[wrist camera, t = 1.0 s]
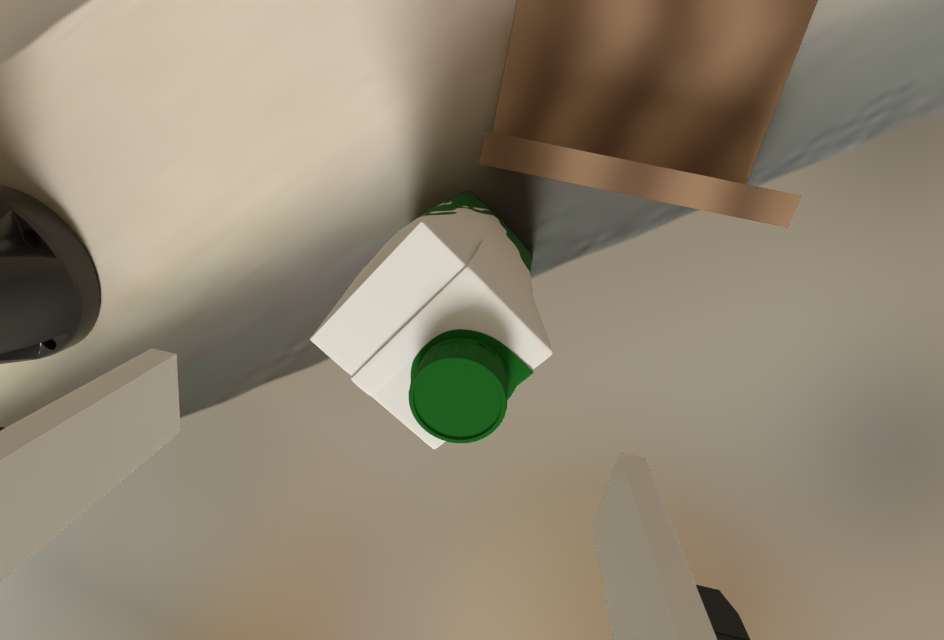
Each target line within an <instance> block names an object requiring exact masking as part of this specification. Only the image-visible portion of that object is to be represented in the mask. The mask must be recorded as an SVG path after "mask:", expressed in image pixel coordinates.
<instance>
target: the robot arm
mask: <svg viewBox="0 0 944 640" xmlns="http://www.w3.org/2000/svg"><path fill="white" fill-rule="evenodd" d="M99 306H100V292H99V285H98V280H97V276H96V273H95V270H94V267H93V265H92V262H91V260H90V258H89V256H88V254H87V252H86V250H85V249H84V247H83V245H82V244H81V242H80V241H79V239H78V238H77V237H76V235H75V234H74V233H73V232H72V230H71V229H70V228H69V227H68V226H67V225H66V224H65V223H64V222H63V221H62V220H61V219H60V218H59V217H58V216H57V215H56V214H55V213H54V212H52V211H51V210H50V209H49V208H47V207H46V206H45V205H43V204H42V203H40V202H39V201H37V200H35V199H34V198H32V197H30V196H28V195H26V194H24V193H22V192H19V191H17V190H14V189H11V188H8V187H4V186H0V364H4V363H12V362H20V361H28V360H35V359H40V358H44V357H47V356H51V355H53V354H55V353H58V352H60V351H62V350H64V349H67V348H69V347H71V346H73V345H75V344H77V343H79V342H80V341H81V340H83V339H84V338H85V337H86V336H87V335H88V334H89V332H90V331H91V330H92V328H93V326H94V324H95V322H96V319H97V316H98V312H99ZM178 433H180V413H179V393H178V373H177V354H174V353H170V352H165V351H161V350H156V349H152V348H151V349H150V350H148V351H146V352H144V353H142V354H140V355H139V356H137V357H135V358H133V359H131V360H129V361H128V362H126V363H124V364H122V365H120V366H118V367H116V368H115V369H113V370H111V371H109V372H107V373H105V374H104V375H102V376H100V377H98V378H96V379H94V380H93V381H91V382H89V383H87V384H85V385H83V386H82V387H80V388H78V389H76V390H74V391H72V392H71V393H69V394H67V395H65V396H63V397H61V398H60V399H58V400H56V401H54V402H52V403H50V404H49V405H47V406H45V407H43V408H41V409H39V410H38V411H36V412H34V413H32V414H30V415H28V416H27V417H25V418H23V419H21V420H19V421H17V422H16V423H14V424H12V425H10V426H8V427H6V428H3V427H0V582H1V581H2V580H4V579H5V578H6V577H7V576H8V575H9V574H11V573H12V572H13V571H14V570H16V569H17V568H18V567H19V566H20V565H22V564H23V563H24V562H25V561H26V560H28V559H29V558H30V557H31V556H32V555H33V554H35V553H36V552H37V551H38V550H40V549H41V548H42V547H43V546H44V545H45V544H47V543H48V542H49V541H50V540H51V539H53V538H54V537H55V536H56V535H58V534H59V533H60V532H61V531H62V530H63V529H65V528H66V527H67V526H68V525H70V524H71V523H72V522H73V521H74V520H75V519H77V518H78V517H79V516H80V515H81V514H83V513H84V512H85V511H86V510H87V509H89V508H90V507H91V506H92V505H93V504H95V503H96V502H97V501H98V500H99V499H100V498H102V497H103V496H104V495H105V494H107V493H108V492H109V491H110V490H111V489H112V488H114V487H115V486H116V485H117V484H118V483H120V482H121V481H122V480H123V479H125V478H126V477H127V476H128V475H129V474H131V473H132V472H133V471H134V470H135V469H137V468H138V467H139V466H140V465H141V464H142V463H144V462H145V461H146V460H147V459H149V458H150V457H151V456H152V455H153V454H155V453H156V452H157V451H158V450H159V449H160V448H162V447H163V446H164V445H165V444H166V443H168V442H169V441H170V440H171V439H172V438H174V437H175V436H176V435H177V434H178ZM592 528H593V533H594V539H595V544H596V549H597V555H598V560H599V566H600V571H601V577H602V583H603V588H604V594H605V599H606V605H607V610H608V616H609V621H610V627H611V632H612V637H613V640H750V638H749V636H748V634H747V632H746V629H745V627H744V625H743V623H742V621H741V619H740V617H739V615H738V613H737V612H736V611H735V609H734V608H733V607H732V606H731V604H730V603H729V602H728V601H727V599H726V598H725V597H724V596H723V594H722V593H721V592H720V591H719V590H716V589H712V588H708V587H703V586H699V585H695V582H694V580H693V577H692V574H691V572H690V569H689V567H688V564H687V562H686V559H685V556H684V554H683V551H682V549H681V546H680V544H679V541H678V539H677V536H676V534H675V531H674V529H673V526H672V524H671V521H670V519H669V516H668V514H667V511H666V508H665V506H664V503H663V501H662V498H661V496H660V493H659V490H658V488H657V486H656V483H655V480H654V478H653V475H652V473H651V470H650V468H649V465H648V463H647V460H646V458H642V457H638V456H633V455H629V454H624V453H619V454H618V457H617V460H616V462H615V465H614V468H613V470H612V473H611V476H610V479H609V481H608V484H607V487H606V489H605V492H604V495H603V497H602V500H601V503H600V505H599V508H598V511H597V513H596V516H595V519H594V521H593V524H592Z"/></svg>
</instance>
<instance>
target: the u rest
mask: <svg viewBox="0 0 944 640" xmlns="http://www.w3.org/2000/svg"><path fill="white" fill-rule="evenodd" d="M817 1H818V0H517V5H516V11H515V16H514V21H513V26H512V32H511V37H510V42H509V47H508V52H507V58H506V63H505V68H504V73H503V79H502V84H501V89H500V94H499V99H498V105H497V110H496V115H495V120H494V126H493V131H492V132H488V131H485V133H484V139H483V144H482V149H481V155H480V160H479V164H482V165H487V166H491V167H496V168H501V169H506V170H511V171H516V172H520V173H525V174H530V175H535V176H540V177H545V178H550V179H554V180H559V181H564V182H569V183H574V184H579V185H583V186H588V187H593V188H598V189H603V190H608V191H613V192H617V193H622V194H627V195H632V196H637V197H642V198H646V199H651V200H656V201H661V202H666V203H671V204H676V205H680V206H685V207H690V208H695V209H700V210H705V211H709V212H714V213H719V214H724V215H729V216H734V217H739V218H744V219H748V220H753V221H758V222H763V223H768V224H772V225H778V226H782V227H788V226H789V223H790V221H791V219H792V217H793V214H794V212H795V210H796V208H797V205H798V203H799V201H800V199H801V196H800V195H796V194H791V193H785V192H781V191H776V190H771V189H766V188H762V187H757V186H752V185H747V184H746V181H747V179H748V176H749V174H750V171H751V169H752V166H753V164H754V161H755V159H756V156H757V154H758V151H759V148H760V146H761V143H762V141H763V138H764V136H765V133H766V131H767V128H768V126H769V123H770V121H771V118H772V115H773V113H774V110H775V108H776V105H777V103H778V100H779V98H780V95H781V93H782V90H783V87H784V85H785V82H786V80H787V77H788V75H789V72H790V70H791V67H792V65H793V62H794V60H795V57H796V54H797V52H798V49H799V47H800V44H801V42H802V39H803V37H804V34H805V32H806V29H807V27H808V24H809V21H810V19H811V16H812V14H813V11H814V9H815V6H816V4H817Z"/></svg>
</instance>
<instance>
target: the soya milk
mask: <svg viewBox="0 0 944 640" xmlns="http://www.w3.org/2000/svg"><path fill="white" fill-rule="evenodd" d="M532 258H533V257H532V256H531V254H530V253H529V251H528V250H527V249H526V247H525V246H524V245H523V244H522V243H521V241H520V240H519V239H518V238H517V237H516V236H515V235H514V233H513V232H512V231H511V230H510V229H509V228H508V227H507V226H506V225H505V224H504V223H503V222H502V221H501V219H500V218H499V217H498V216H497V215H496V214H495V213H493V212H492V211H491V210H490V209H489V208H488V207H487V206H486V205H484V204H483V203H482V202H481V201H480V200H478V199H477V198H476V197H475V196H474V195H473V194H472V193H471V192H470V191H467V192H465V193H463V194H461V195H459V196H457V197H455V198H452V199H450V200H448V201H446V202H444V203H442V204H440V205H438V206H435V207H433V208H431V209H430V210H428V211H427V212H425V213H424V214H422V215H421V216H420V217H418V218H417V219H415V220H414V221H413V222H411V223H410V224H408V225H407V226H405V227H404V228H403V229H401V230H400V231H399V232H398V233H396V234H395V235H394V236H393V237H392V238H391V239H390V240H389V241H388V242H387V243H386V244H385V245H384V246H383V247H382V248H381V250H380V251H379V252H378V253H377V254H376V255H375V257H374V258H373V259H372V260H371V261H370V262H369V263H368V264H367V265H366V267H365V268H364V269H363V270H362V271H361V272H360V273H359V275H358V276H357V277H356V279H355V280H354V281H353V283H352V284H351V285H350V287H349V288H348V289H347V291H346V292H345V293H344V295H343V296H342V297H341V299H340V300H339V301H338V303H337V304H336V305H335V307H334V308H333V309H332V311H331V312H330V313H329V315H328V316H327V317H326V319H325V320H324V321H323V323H322V324H321V325H320V327H319V328H318V329H317V331H316V332H315V333H314V334H313V336H312V337H311V338H310V340H311V341H312V342H313V343H314V344H315V345H317V346H318V347H319V348H320V349H321V350H322V351H323V352H324V353H326V354H327V355H328V356H329V357H330V358H331V359H333V360H334V361H335V362H336V363H337V364H338V365H339V366H340V367H342V368H343V369H344V370H345V371H346V372H347V373H349V374H350V375H351V376H352V377H351V380H352V381H353V382H354V383H355V384H356V385H357V386H358V387H359V388H361V389H362V390H363V391H364V392H366V393H367V394H368V395H371V396H372V397H373V398H374V399H375V400H376V401H378V402H379V403H380V404H381V405H382V406H383V407H385V408H386V409H387V410H388V411H389V412H390V413H392V414H393V415H394V416H395V417H396V418H397V419H399V420H400V421H401V422H402V423H403V424H405V425H406V426H407V427H408V428H409V429H410V430H411V431H413V432H414V433H415V434H416V435H417V436H419V437H420V438H421V439H422V440H423V441H424V442H426V443H427V444H428V445H429V446H430V447H432V448H433V449H436V448H438V447H439V446H440V445H441V444H443V443H444V442H445V441H447V442H452V443H469V442H474V441H478V440H480V439H483V438H484V437H487V436H488V435H489V434H491V433H492V432H493V431H494V430H495V429H496V428H497V427H498V426H499V425H500V423H501V422H502V420H503V418H504V416H505V412H506V409H507V400H508V398H509V397H510V396H511V395H512V393H513V391H514V390H515V388H516V386H517V385H519V384H520V383H521V382H522V381H523V380H525V379H526V378H527V377H529V376H530V375H531V374H532V373H533V371H532V370H533V369H534V368H535V367H537V366H538V365H539V364H541V363H542V362H543V361H545V360H546V359H547V358H548V357H549V356H551V355H552V354H553V350H552V348H551V345H550V342H549V339H548V337H547V334H546V331H545V329H544V326H543V323H542V320H541V318H540V315H539V312H538V309H537V307H536V304H535V301H534V298H533V293H532V282H531V264H532Z"/></svg>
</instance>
